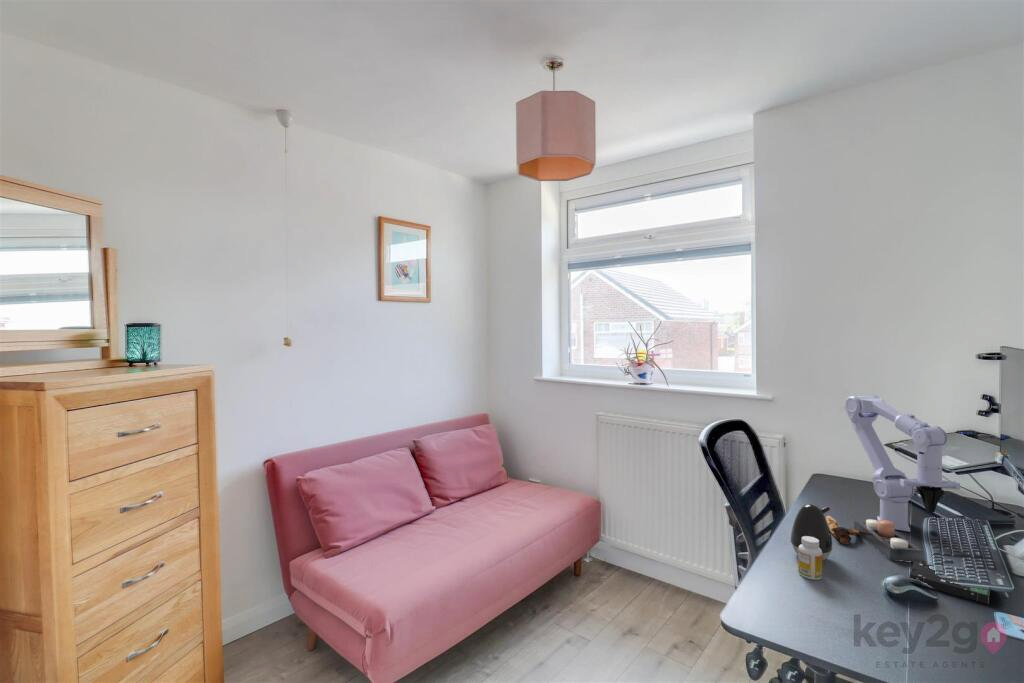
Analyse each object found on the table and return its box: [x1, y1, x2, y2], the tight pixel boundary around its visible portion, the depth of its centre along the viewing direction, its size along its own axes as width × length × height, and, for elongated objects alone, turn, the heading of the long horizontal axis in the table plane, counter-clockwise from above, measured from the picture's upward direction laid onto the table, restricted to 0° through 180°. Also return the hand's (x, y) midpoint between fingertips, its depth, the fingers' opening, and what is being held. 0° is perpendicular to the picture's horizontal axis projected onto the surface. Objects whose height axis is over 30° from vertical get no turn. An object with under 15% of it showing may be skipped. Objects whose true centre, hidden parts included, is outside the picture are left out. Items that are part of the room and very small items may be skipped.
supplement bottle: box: [797, 536, 823, 581], centre depth 129 cm, size 5×5×10 cm
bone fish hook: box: [825, 515, 859, 545], centre depth 154 cm, size 9×5×18 cm
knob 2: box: [890, 538, 908, 548], centre depth 139 cm, size 4×4×4 cm
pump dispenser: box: [790, 503, 834, 562], centre depth 139 cm, size 10×10×15 cm
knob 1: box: [865, 518, 878, 528], centre depth 153 cm, size 4×4×4 cm
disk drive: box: [908, 561, 991, 605], centre depth 123 cm, size 10×3×15 cm
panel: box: [853, 519, 924, 563], centre depth 146 cm, size 21×8×4 cm, turn 168°
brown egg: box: [877, 519, 896, 538], centre depth 146 cm, size 4×4×4 cm
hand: (929, 511), depth 148 cm, fingers closed
